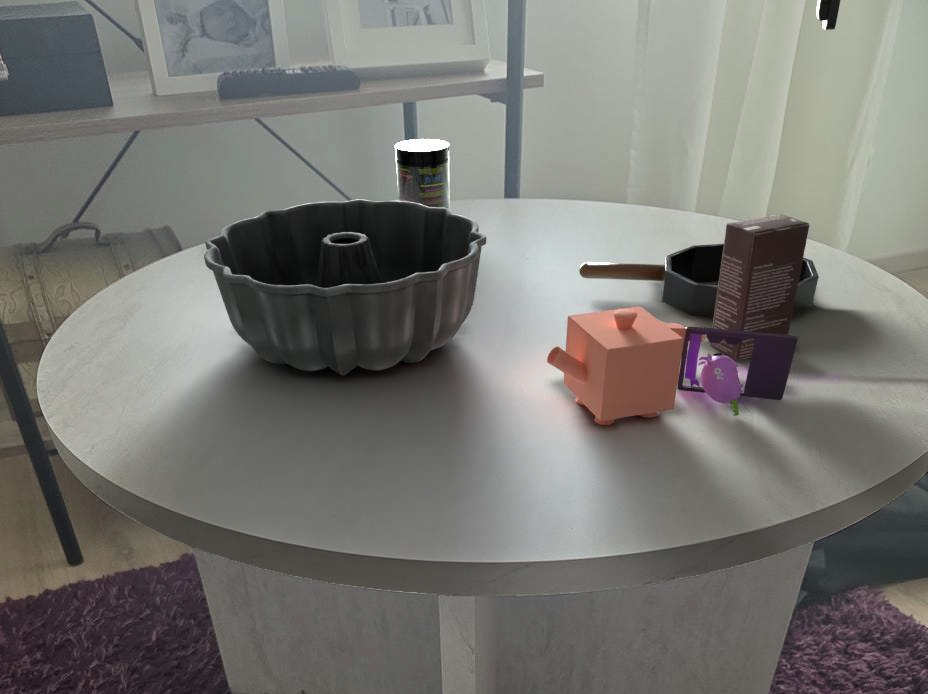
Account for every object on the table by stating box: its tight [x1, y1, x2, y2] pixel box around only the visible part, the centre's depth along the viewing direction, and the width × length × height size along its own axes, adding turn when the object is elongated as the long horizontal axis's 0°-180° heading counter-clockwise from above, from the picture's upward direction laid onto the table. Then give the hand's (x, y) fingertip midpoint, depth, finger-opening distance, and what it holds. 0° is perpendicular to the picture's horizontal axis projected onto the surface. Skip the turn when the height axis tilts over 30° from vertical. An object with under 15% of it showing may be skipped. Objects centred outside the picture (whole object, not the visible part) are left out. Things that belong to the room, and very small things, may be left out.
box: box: [709, 213, 810, 361], centre depth 83 cm, size 6×4×12 cm
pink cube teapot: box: [546, 305, 686, 426], centre depth 76 cm, size 8×12×8 cm, turn 107°
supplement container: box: [394, 138, 451, 210], centre depth 116 cm, size 7×7×10 cm
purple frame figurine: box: [677, 325, 799, 417], centre depth 77 cm, size 7×5×9 cm
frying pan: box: [578, 243, 820, 320], centre depth 97 cm, size 24×16×4 cm, turn 80°
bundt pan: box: [203, 198, 487, 376], centre depth 89 cm, size 26×26×10 cm
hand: (886, 27), depth 70 cm, fingers open, 8 cm apart
